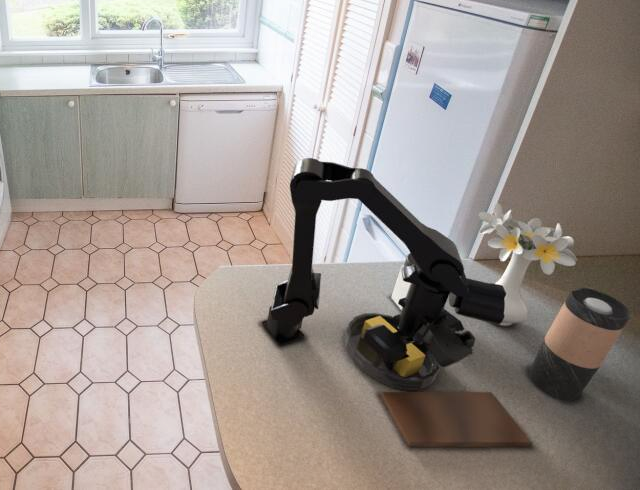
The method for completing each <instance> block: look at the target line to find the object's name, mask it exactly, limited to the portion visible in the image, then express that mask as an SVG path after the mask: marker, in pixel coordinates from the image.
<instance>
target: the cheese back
mask: <svg viewBox="0 0 640 490" xmlns="http://www.w3.org/2000/svg"><path fill="white" fill-rule="evenodd" d="M377 325H385V326H386V327H387V328H388V329H389V330H391V331H392V332H393V333H394V332H397V330H396V329H395V328H393V327H392V326H391V325H390V324H389V323H388V322H387V321H385V320H384V319H383V318H382V317H381V316H378V317H375V318H372V319H369V320H366V321H365V323H364V326H363V330H362V333H361V336H360V337H361V338H362V339H363V335H364V332H365V329H368V328H371V327H374V326H377Z"/></svg>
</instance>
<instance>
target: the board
mask: <svg viewBox="0 0 640 490" xmlns="http://www.w3.org/2000/svg"><path fill="white" fill-rule="evenodd" d="M380 400H381V401H382V403H383V404H384V406H385V408H386V410H387V411H388V413H389V415H390V417H391V419H392V421H393V423H394V424H395V426H396V428H397V429H398V431H399V433H400V435H401V437H402V438H403V441H404V442H405V444H406V446H407V447H408V448H409V447H410V448H412V447H413V448H414V447H415V448H416V447H417V448H419V447H420V448H424V447H425V448H426V447H427V448H430V447H432V448H435V447H437V448H442V447H444V448H445V447H448V448H450V447H461V448H463V447H467V448H469V447H470V448H471V447H476V448H478V447H482V448H483V447H486V448H487V447H491V448H492V447H496V448H497V447H506V448H507V447H530V445H531V443H532V441H531V440H530V438H529V437H528V436H527V435H526V433H525V432H524V431H523V429H522V428H521V427H520V426H519V424H517V422H516V421H515V420H514V419H513V417H512V416H511V414H510V413H509V412H508V411H507V409H506V408H505V407H504V406H503V405H502V403H501V402H500V401H499V400H498V398H497V397H496V396H495V395H494V394H493V393H492V391H421V392H420V391H391V392H390V391H383V392H381V394H380Z"/></svg>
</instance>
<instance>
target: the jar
mask: <svg viewBox="0 0 640 490" xmlns="http://www.w3.org/2000/svg"><path fill="white" fill-rule="evenodd" d="M413 264H415V265H416V266H417V267H418V268H419V269H420V267H419V266H418V265H417V263H416V262H415V260H414V258H413V256H412V255H411V253H410V252H409V253H408V254H407V255H406V258H405V261H404V262H403V264H402V266H401V267H400V270H399V273H398V275H397V279H396V282H395V285H394V288H393V291H392V294H391V300H393V302H394V303H395V305H396V306H397V307H398V309H399V310H400V311H401V310H402V306H400V305H399V304H398V302H399V299H402V298H405V297H406V296H407V293H408V290H409V287H410V284H411V283H408V282H405V281H403V277H402V270H401V268H402V267H405V266H411V265H413Z"/></svg>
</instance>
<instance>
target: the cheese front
mask: <svg viewBox="0 0 640 490" xmlns="http://www.w3.org/2000/svg"><path fill="white" fill-rule="evenodd" d="M406 346H407V353H406V354H407V355H409V357H407V358H405V359H402V360H400V361H398V362H397V363H396V365H395V367H394V369H395V370H396V371H397V372H398V373H399V374H400V375H401V376H404V377H408V376H410V375H413V374H415V373H418V372H419V371H420V368H421V366H422V363H423V361H424V358H425V356H426V355H425V354H423V353H422V352H421V351H420V350H419V349H418V348H417V347H415V346H414V345H413V344H412V343H410V344H407V345H406Z"/></svg>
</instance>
